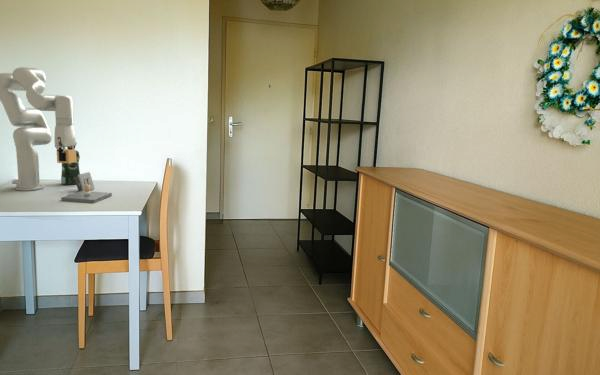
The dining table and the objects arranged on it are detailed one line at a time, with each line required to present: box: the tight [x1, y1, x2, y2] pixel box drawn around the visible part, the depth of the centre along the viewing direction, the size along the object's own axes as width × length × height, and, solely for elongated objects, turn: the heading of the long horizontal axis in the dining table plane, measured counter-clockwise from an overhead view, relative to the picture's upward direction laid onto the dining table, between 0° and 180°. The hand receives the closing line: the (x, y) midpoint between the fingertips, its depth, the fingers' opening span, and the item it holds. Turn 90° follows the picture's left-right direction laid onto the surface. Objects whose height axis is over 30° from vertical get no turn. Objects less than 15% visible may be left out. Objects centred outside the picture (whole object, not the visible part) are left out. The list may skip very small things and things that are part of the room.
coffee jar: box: [60, 150, 81, 186], centre depth 257 cm, size 10×8×19 cm
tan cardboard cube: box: [56, 148, 77, 164], centre depth 223 cm, size 6×6×6 cm
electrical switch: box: [74, 171, 95, 192], centre depth 243 cm, size 9×5×9 cm, turn 171°
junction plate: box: [60, 185, 113, 204], centre depth 226 cm, size 16×17×6 cm
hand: (66, 160), depth 223 cm, fingers closed on tan cardboard cube, 5 cm apart
